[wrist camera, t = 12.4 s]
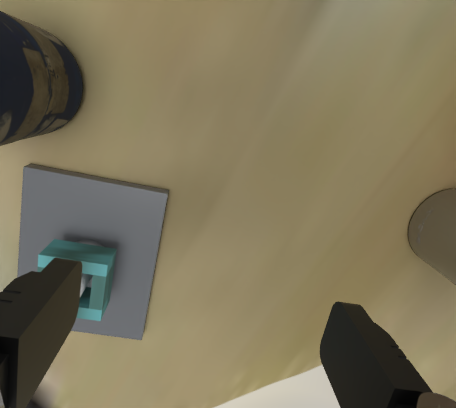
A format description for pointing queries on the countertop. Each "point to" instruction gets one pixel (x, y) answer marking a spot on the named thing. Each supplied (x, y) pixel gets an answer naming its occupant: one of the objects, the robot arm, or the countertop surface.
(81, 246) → the collar
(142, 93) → the countertop surface
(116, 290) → the shaft stand
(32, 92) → the canister
